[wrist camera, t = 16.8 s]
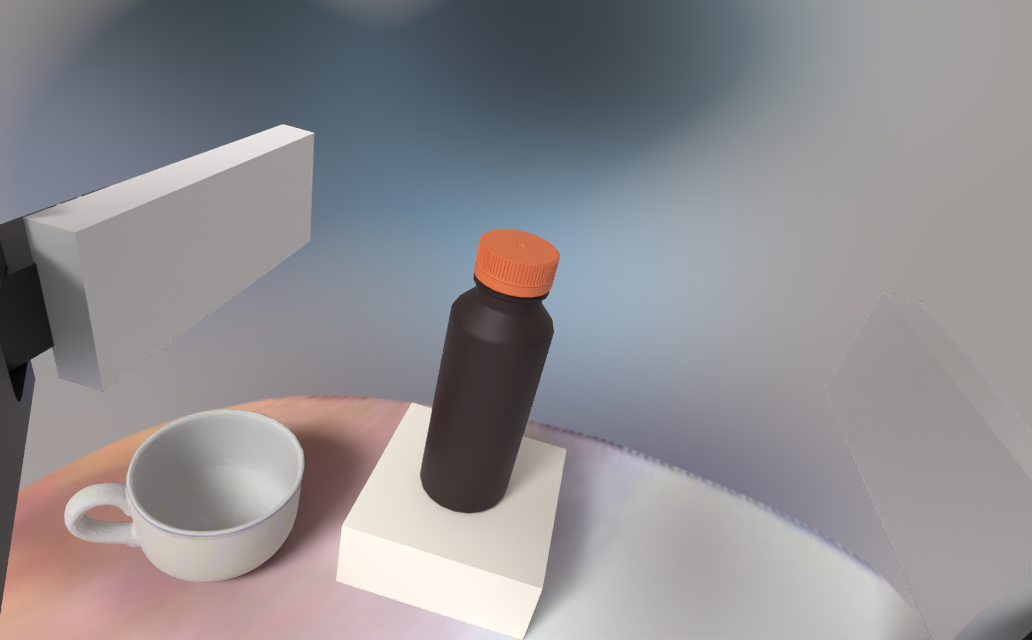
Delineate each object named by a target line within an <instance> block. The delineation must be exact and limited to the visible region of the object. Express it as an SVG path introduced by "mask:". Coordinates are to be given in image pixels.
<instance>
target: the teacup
mask: <svg viewBox="0 0 1032 640" xmlns="http://www.w3.org/2000/svg"><path fill="white" fill-rule="evenodd" d="M304 468H305V462H304V452H303V449H302V447H301V444H300V442H299V441H298V439H297V438H296V436H295V435H294V434H293V433H292V432H291V431H290V430H289V429H288V428H287V427H286V426H285V425H283V424H282V423H280V422H279V421H277V420H275V419H273V418H271V417H268V416H266V415H263V414H259V413H256V412H252V411H246V410H236V409H217V410H209V411H204V412H199V413H196V414H192V415H188V416H184V417H182V418H180V419H177V420H175V421H172V422H171V423H169V424H167V425H165V426H164V427H162V428H160V429H159V430H157V431H156V432H154V433H153V434H152V435H151V436H150V437H148V438H147V439H146V440H145V441H144V443H143V444H142V445H141V446H140V447H139V448H138V450H137V451H136V453H135V454H134V456H133V458H132V460H131V463H130V465H129V469H128V473H127V480H126V485H123V484H118V483H102V484H95V485H91V486H89V487H86V488H84V489H82V490H80V491H79V492H77V493H76V494H75V495H74V496H73V497H72V498H71V499H70V501H69V502H68V504H67V506H66V509H65V514H64V517H65V524H66V526H67V528H68V530H69V531H70V532H71V533H72V534H73V535H74V536H76V537H78V538H80V539H83V540H87V541H91V542H97V543H112V544H125V545H127V546H129V547H133V548H137V547H141V548H142V550H143V552H144V553H145V555H146V556H147V558H148V559H149V560H150V561H151V562H152V563H153V564H154V566H156V567H157V568H158V569H159V570H161V571H162V572H164V573H166V574H168V575H170V576H172V577H175V578H178V579H181V580H185V581H190V582H216V581H224V580H228V579H232V578H235V577H238V576H240V575H243V574H245V573H247V572H250V571H251V570H253V569H255V568H257V567H258V566H260V565H261V564H263V563H264V562H265V561H267V560H268V559H269V558H270V557H272V556H273V555H274V554H275V553H276V551H277V550H278V549H279V548H280V547H281V546H282V544H283V543H284V542H285V540H286V538H287V537H288V535H289V533H290V531H291V529H292V527H293V524H294V522H295V518H296V515H297V510H298V505H299V498H300V490H301V481H302V478H303V474H304ZM102 505H113V506H117V507H119V508H121V509H122V510H123V512H124V513H125V514H126V515H128V516H131V517H132V518H133V522H106V521H100V520H95V519H92V518H89V517H87V516H86V515H84V514H85V513H86V512H87V511H88V510H90V509H91V508H94V507H98V506H102Z"/></svg>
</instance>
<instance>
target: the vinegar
mask: <svg viewBox="0 0 1032 640" xmlns="http://www.w3.org/2000/svg"><path fill="white" fill-rule="evenodd" d="M559 259H560V255H559V252H558V250H557V249H556V248H555V247H554V246H553V245H552V244H551V243H549V242H548V241H546V240H544V239H542V238H540V237H538V236H536V235H533V234H530V233H527V232H522V231H518V230H511V229H498V230H492V231H489V232H486V233H485V234H483V235H482V236H481V238H480V242H479V247H478V252H477V257H476V262H475V267H474V281H475V283H476V287H474V288H472V289H470V290H469V291H467V292H465V293H463V294H462V295H460V296H459V297H458V298H457V300H456V301H455V302H454V303H453V304H452V307H451V312H450V317H449V323H448V328H447V334H446V339H445V344H444V349H443V354H442V359H441V365H440V370H439V375H438V380H437V386H436V391H435V396H434V401H433V407H432V412H431V417H430V423H429V428H428V433H427V438H426V444H425V449H424V454H423V459H422V465H421V471H420V478H421V482H422V486H423V489H424V490H425V492H426V493H427V494H428V496H429V497H430V498H431V499H432V500H433V501H435V502H436V503H437V504H439V505H440V506H442V507H444V508H447V509H449V510H452V511H454V512H461V513H468V514H469V513H477V512H483V511H485V510H488V509H490V508H492V507H494V506H495V505H496V504H497V503H498V502H499V501H500V500H501V499H502V498H503V497H504V495H505V492H506V490H507V488H508V484H509V481H510V478H511V474H512V471H513V468H514V464H515V461H516V458H517V454H518V451H519V448H520V444H521V441H522V437H523V434H524V431H525V427H526V424H527V421H528V417H529V414H530V410H531V407H532V404H533V401H534V397H535V394H536V391H537V387H538V384H539V381H540V377H541V374H542V370H543V367H544V364H545V361H546V357H547V354H548V350H549V347H550V344H551V340H552V337H553V333H554V329H553V321H552V318H551V317H550V315H549V314H548V312H547V310H546V309H545V308H544V306H543V304H542V300H544V299H546V297H547V296H548V294H549V290H550V289H551V287H552V284H553V280H554V277H555V273H556V269H557V266H558V262H559Z"/></svg>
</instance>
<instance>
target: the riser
mask: <svg viewBox="0 0 1032 640" xmlns="http://www.w3.org/2000/svg"><path fill="white" fill-rule="evenodd" d="M431 412H432V408H428V407H425V406H422V405H418V404H415V403H411V405H410V407H409V409H408V410H407V412H406V414H405V416H404V417H403V419H402V421H401V423H400V424H399V426H398V428H397V430H396V432H395V433H394V435H393V437H392V439H391V440H390V442H389V444H388V446H387V447H386V449H385V451H384V453H383V454H382V456H381V458H380V460H379V461H378V463H377V465H376V467H375V468H374V470H373V472H372V474H371V476H370V477H369V479H368V481H367V483H366V484H365V486H364V488H363V490H362V491H361V493H360V495H359V497H358V498H357V500H356V502H355V504H354V505H353V507H352V509H351V511H350V512H349V514H348V516H347V518H346V519H345V521H344V523H343V525H342V530H341V540H340V550H339V559H338V569H337V578H336V581H338V582H341V583H344V584H347V585H350V586H354V587H357V588H360V589H363V590H366V591H369V592H372V593H375V594H379V595H382V596H385V597H388V598H391V599H394V600H397V601H400V602H403V603H407V604H410V605H413V606H416V607H419V608H422V609H425V610H428V611H432V612H435V613H438V614H441V615H444V616H447V617H450V618H453V619H456V620H460V621H463V622H466V623H469V624H472V625H475V626H478V627H481V628H485V629H488V630H491V631H494V632H497V633H500V634H503V635H506V636H510V637H513V638H516V639H519V640H523V638H524V636H525V633H526V630H527V628H528V625H529V623H530V620H531V618H532V615H533V612H534V610H535V607H536V605H537V602H538V600H539V597H540V594H541V592H542V589H543V584H544V578H545V572H546V566H547V561H548V555H549V549H550V543H551V537H552V531H553V525H554V520H555V514H556V508H557V502H558V496H559V490H560V484H561V479H562V473H563V467H564V461H565V455H566V449H564V448H561V447H558V446H554V445H551V444H548V443H544V442H541V441H538V440H534V439H531V438H528V437H524V436H523V437H522V441H521V444H520V448H519V451H518V454H517V458H516V461H515V464H514V468H513V471H512V474H511V478H510V481H509V484H508V488H507V490H506V492H505V495H504V497H503V498H502V499H501V500H500V501H499V502H498V503H497V504H496V505H495V506H494V507H492V508H490V509H488V510H485V511H483V512H477V513H469V514H468V513H461V512H454V511H452V510H449V509H447V508H444V507H442V506H440V505H439V504H437V503H436V502H435V501H433V500H432V499H431V498H430V497H429V496H428V494H427V493H426V492H425V490H424V489H423V486H422V482H421V478H420V471H421V465H422V459H423V454H424V449H425V444H426V438H427V433H428V428H429V423H430V417H431Z"/></svg>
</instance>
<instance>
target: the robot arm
mask: <svg viewBox="0 0 1032 640" xmlns="http://www.w3.org/2000/svg"><path fill="white" fill-rule="evenodd" d="M313 149H314V133H312V132H309V131H305V130H302V129H298V128H294V127H291V126H287V125H280V126H277V127H275V128H272V129H269V130H266V131H263V132H260V133H258V134H255V135H252V136H249V137H247V138H244V139H241V140H238V141H235V142H232V143H230V144H227V145H224V146H221V147H218V148H216V149H213V150H210V151H208V152H205V153H202V154H199V155H196V156H193V157H191V158H188V159H185V160H182V161H179V162H177V163H174V164H171V165H168V166H165V167H163V168H160V169H157V170H154V171H152V172H149V173H146V174H143V175H140V176H138V177H135V178H132V179H129V180H127V181H124V182H121V183H118V184H115V185H112V186H108V187H104V188H102V189H99V190H96V191H93V192H90V193H87V194H84V195H82V196H81V197H79V198H73V199H71V200H68V201H65V202H62V203H61V204H60V205H54V206H51V207H48V208H45V209H42V210H40V211H37V212H34V213H31V214H28V215H26V216H23V217H20V218H17V219H14V220H12V221H9V222H6V223H3V224H0V612H1V605H2V599H3V592H4V585H5V578H6V572H7V565H8V558H9V552H10V545H11V538H12V531H13V525H14V518H15V511H16V504H17V498H18V491H19V484H20V478H21V471H22V464H23V457H24V450H25V444H26V436H27V431H28V424H29V417H30V410H31V404H32V397H33V390H34V383H35V376H34V372H33V368H32V365H31V361H30V360H31V359H33V358H34V357H36V356H38V355H39V354H41V353H43V352H44V351H46V350H48V349H49V348H51V347H52V348H53V353H54V357H55V362H56V366H57V370H58V375H59V378H61V379H64V380H67V381H71V382H74V383H77V384H80V385H83V386H86V387H90V388H93V389H96V390H99V391H102V392H103V391H105V390H106V389H108V388H109V387H110V386H112V385H113V384H115V383H116V382H117V381H119V380H120V379H121V378H123V377H124V376H126V375H127V374H128V373H130V372H131V371H132V370H134V369H135V368H137V367H138V366H139V365H141V364H142V363H143V362H145V361H146V360H147V359H149V358H150V357H152V356H153V355H154V354H156V353H157V352H158V351H160V350H161V349H162V348H164V347H165V346H167V345H168V344H170V343H171V342H172V341H174V340H175V339H176V338H178V337H179V336H180V335H182V334H183V333H185V332H186V331H187V330H189V329H190V328H191V327H193V326H194V325H196V324H197V323H198V322H200V321H201V320H202V319H204V318H205V317H207V316H208V315H209V314H211V313H212V312H213V311H215V310H216V309H217V308H219V307H220V306H222V305H223V304H224V303H226V302H227V301H229V300H230V299H231V298H233V297H234V296H235V295H237V294H238V293H239V292H241V291H242V290H243V289H245V288H246V287H247V286H249V285H251V284H252V283H253V282H255V281H256V280H257V279H259V278H260V277H261V276H263V275H264V274H266V273H267V272H268V271H270V270H271V269H272V268H274V267H275V266H277V265H278V264H279V263H281V262H282V261H283V260H285V259H286V258H287V257H289V256H290V255H292V254H293V253H294V252H296V251H297V250H299V249H300V248H301V247H303V246H304V245H305V244H307V243H308V242H309V241H310V225H311V200H312V199H311V198H312V173H313ZM824 392H825V394H826V397H827V399H828V401H829V404H830V406H831V408H832V411H833V413H834V415H835V417H836V420H837V422H838V424H839V427H840V429H841V431H842V434H843V436H844V438H845V441H846V443H847V445H848V447H849V450H850V452H851V454H852V457H853V459H854V461H855V463H856V466H857V468H858V470H859V473H860V475H861V477H862V480H863V482H864V484H865V487H866V489H867V491H868V494H869V496H870V498H871V501H872V503H873V505H874V507H875V510H876V512H877V514H878V517H879V519H880V521H881V524H882V526H883V528H884V531H885V533H886V535H887V537H888V540H889V542H890V544H891V546H892V549H893V551H894V554H895V556H896V558H897V560H898V563H899V565H900V567H901V570H902V572H903V574H904V577H905V579H906V581H907V584H908V586H909V588H910V590H911V593H912V595H913V597H914V600H915V602H916V604H917V607H918V609H919V611H920V613H921V616H922V618H923V621H924V623H925V625H926V628H927V630H928V632H929V634H930V637H931V639H932V640H1032V430H1031V429H1030V427H1029V426H1028V425H1027V424H1026V423H1025V422H1024V420H1023V419H1022V418H1021V417H1020V416H1019V415H1018V413H1017V412H1016V411H1015V410H1014V409H1013V408H1012V407H1011V405H1010V404H1009V403H1008V402H1007V401H1006V400H1005V399H1004V397H1003V396H1002V395H1001V394H1000V393H999V392H998V390H997V389H996V388H995V387H994V386H993V385H992V384H991V382H990V381H989V380H988V379H987V378H986V377H985V376H984V375H983V373H982V372H981V371H980V370H979V369H978V367H977V366H976V365H975V364H974V363H973V362H972V361H971V360H970V358H969V357H968V356H967V355H966V354H965V353H964V351H963V350H962V349H961V348H960V347H959V346H958V345H957V343H956V342H955V341H954V340H953V339H952V338H951V336H950V335H949V334H948V333H947V332H946V331H945V330H944V328H943V327H942V326H941V325H940V324H939V323H938V321H937V320H936V319H935V318H934V317H933V316H932V315H931V314H930V312H929V311H928V310H927V309H926V308H925V307H924V305H923V304H922V303H921V302H920V301H919V300H917V299H912V298H909V297H906V296H902V295H898V294H895V293H891V292H888V291H883V292H882V294H881V295H880V297H879V299H878V300H877V302H876V304H875V305H874V307H873V308H872V310H871V312H870V313H869V315H868V317H867V319H866V320H865V322H864V324H863V325H862V327H861V328H860V330H859V332H858V333H857V335H856V337H855V338H854V340H853V342H852V343H851V345H850V347H849V348H848V350H847V352H846V353H845V355H844V357H843V358H842V360H841V361H840V363H839V365H838V366H837V368H836V370H835V372H834V373H833V375H832V376H831V378H830V380H829V381H828V383H827V385H826V386H825V388H824Z"/></svg>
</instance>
